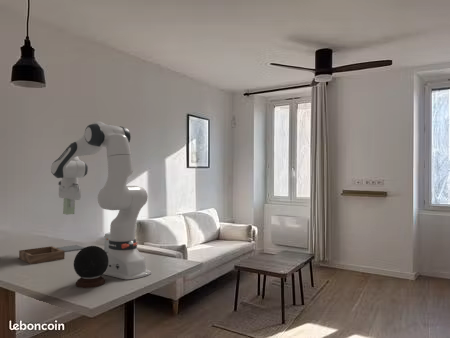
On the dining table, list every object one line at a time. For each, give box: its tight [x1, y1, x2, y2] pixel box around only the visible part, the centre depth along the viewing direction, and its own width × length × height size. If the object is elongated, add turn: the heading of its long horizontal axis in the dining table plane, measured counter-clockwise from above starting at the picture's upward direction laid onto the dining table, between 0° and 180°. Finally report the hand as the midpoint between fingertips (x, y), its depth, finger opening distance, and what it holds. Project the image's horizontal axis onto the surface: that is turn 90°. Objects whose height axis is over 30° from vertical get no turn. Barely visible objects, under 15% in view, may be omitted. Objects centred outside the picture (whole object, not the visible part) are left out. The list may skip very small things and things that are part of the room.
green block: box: [62, 198, 76, 216], centre depth 197 cm, size 4×4×9 cm
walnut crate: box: [18, 245, 66, 265], centre depth 175 cm, size 16×16×4 cm
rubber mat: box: [56, 244, 85, 253], centre depth 199 cm, size 12×12×1 cm
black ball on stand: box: [73, 245, 109, 289], centre depth 137 cm, size 13×13×15 cm
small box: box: [103, 231, 110, 253], centre depth 195 cm, size 8×6×10 cm
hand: (69, 206), depth 197 cm, fingers closed on green block, 4 cm apart
